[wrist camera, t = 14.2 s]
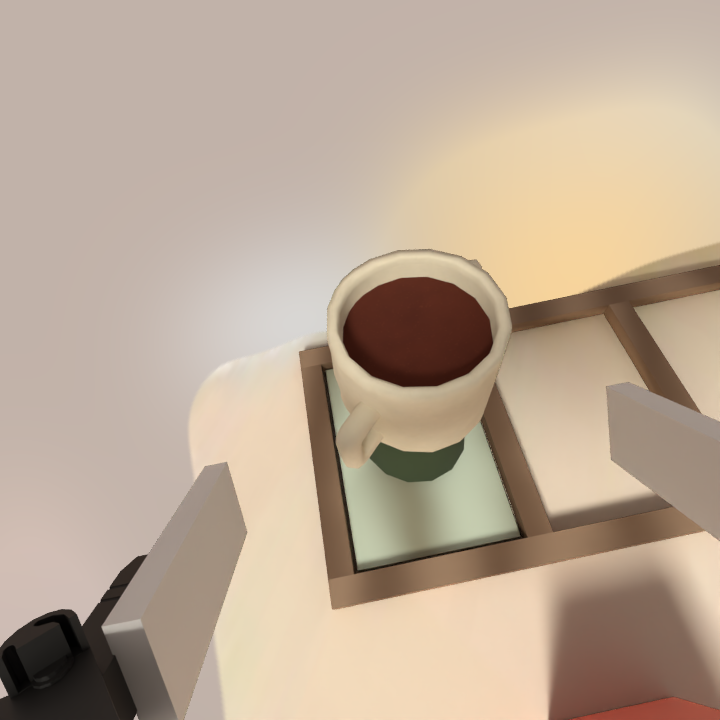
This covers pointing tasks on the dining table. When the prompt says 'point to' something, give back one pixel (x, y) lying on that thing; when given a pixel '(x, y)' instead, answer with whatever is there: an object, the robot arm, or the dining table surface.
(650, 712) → the red die
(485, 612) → the dining table surface
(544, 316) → the game track
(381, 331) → the character mug
